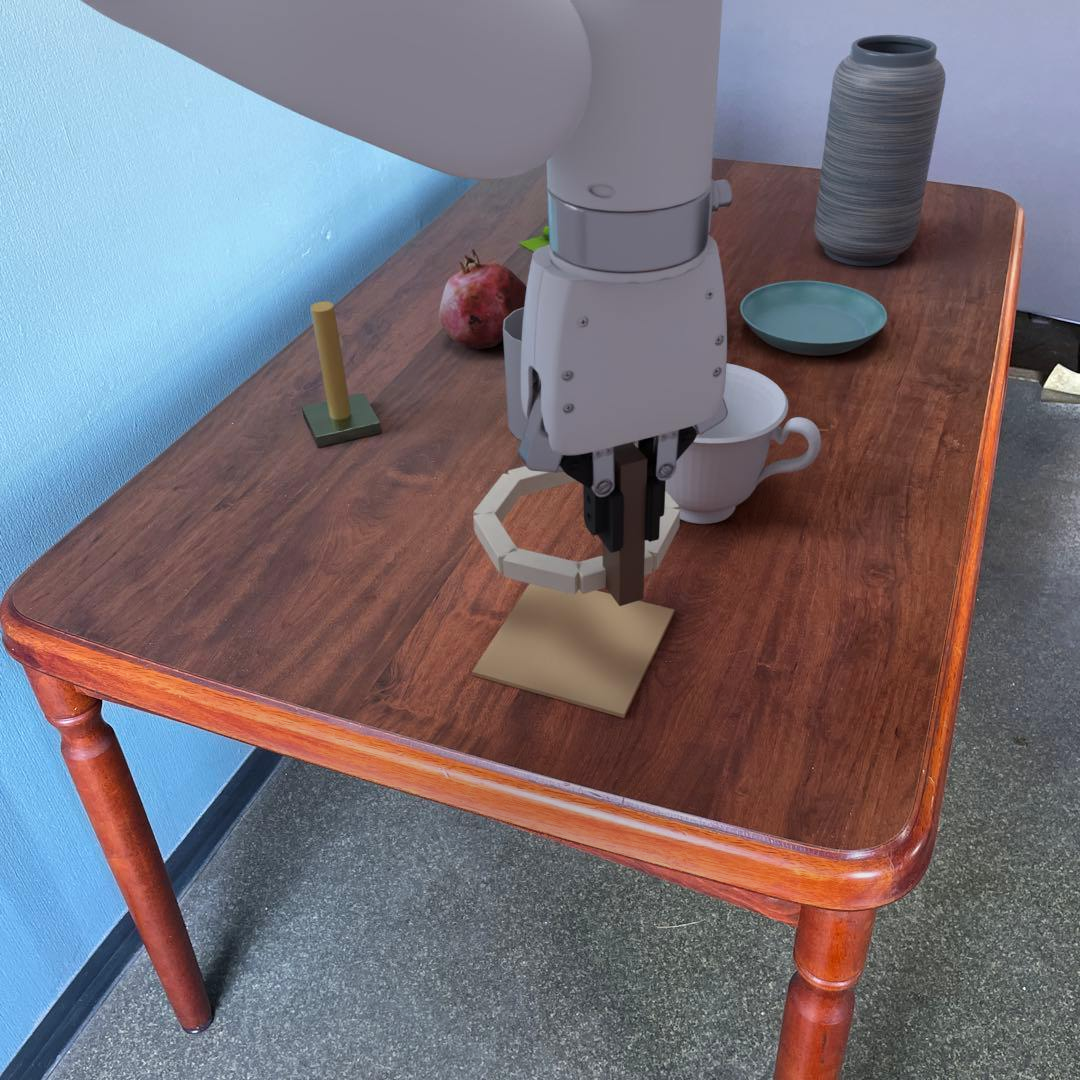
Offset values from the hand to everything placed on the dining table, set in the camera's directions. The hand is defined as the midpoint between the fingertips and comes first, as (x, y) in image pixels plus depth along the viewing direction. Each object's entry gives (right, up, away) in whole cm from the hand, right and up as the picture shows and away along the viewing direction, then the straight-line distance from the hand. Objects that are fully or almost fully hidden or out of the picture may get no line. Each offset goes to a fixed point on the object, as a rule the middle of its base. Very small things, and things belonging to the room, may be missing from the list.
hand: (623, 531), depth 62 cm
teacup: (+10, +2, +26) cm, 28 cm away
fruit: (-10, +20, +51) cm, 56 cm away
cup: (-4, +10, +38) cm, 39 cm away
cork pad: (-2, -8, +14) cm, 16 cm away
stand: (-23, +10, +38) cm, 46 cm away
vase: (+33, +34, +66) cm, 81 cm away
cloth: (+4, +37, +72) cm, 80 cm away
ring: (-2, 0, +8) cm, 8 cm away
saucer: (+23, +21, +50) cm, 59 cm away
